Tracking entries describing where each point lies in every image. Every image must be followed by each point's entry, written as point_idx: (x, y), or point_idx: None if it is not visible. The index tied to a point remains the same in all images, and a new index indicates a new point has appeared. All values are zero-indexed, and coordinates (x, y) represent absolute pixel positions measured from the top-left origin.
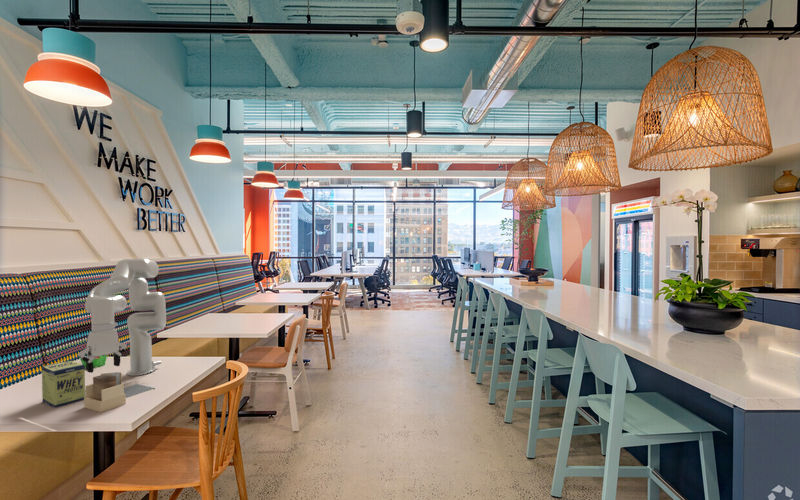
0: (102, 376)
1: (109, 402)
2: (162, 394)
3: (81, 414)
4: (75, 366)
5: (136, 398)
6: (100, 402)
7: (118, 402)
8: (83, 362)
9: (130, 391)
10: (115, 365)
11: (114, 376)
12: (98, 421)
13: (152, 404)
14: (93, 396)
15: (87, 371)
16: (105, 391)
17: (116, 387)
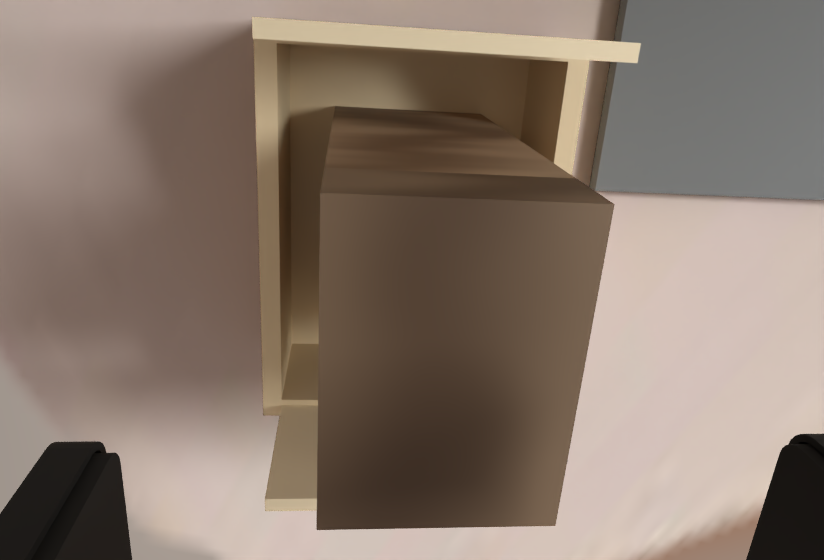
0: (438, 340)
1: None
2: (798, 409)
3: (168, 193)
4: None
5: (664, 281)
6: (263, 413)
7: None
8: None
9: (813, 25)
10: (765, 517)
11: (527, 521)
12: (175, 504)
13: (581, 541)
14: (332, 122)
15: (54, 449)
16: (314, 485)
17: None
